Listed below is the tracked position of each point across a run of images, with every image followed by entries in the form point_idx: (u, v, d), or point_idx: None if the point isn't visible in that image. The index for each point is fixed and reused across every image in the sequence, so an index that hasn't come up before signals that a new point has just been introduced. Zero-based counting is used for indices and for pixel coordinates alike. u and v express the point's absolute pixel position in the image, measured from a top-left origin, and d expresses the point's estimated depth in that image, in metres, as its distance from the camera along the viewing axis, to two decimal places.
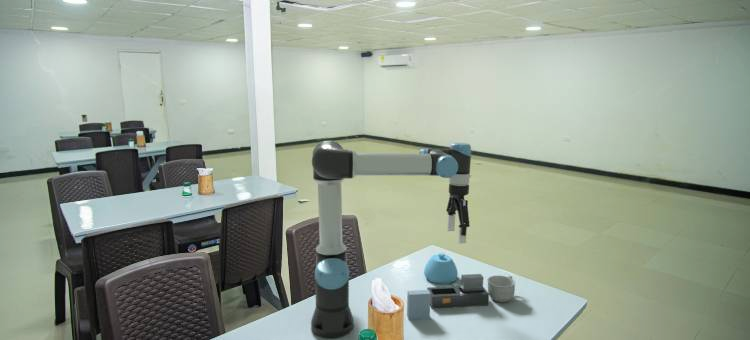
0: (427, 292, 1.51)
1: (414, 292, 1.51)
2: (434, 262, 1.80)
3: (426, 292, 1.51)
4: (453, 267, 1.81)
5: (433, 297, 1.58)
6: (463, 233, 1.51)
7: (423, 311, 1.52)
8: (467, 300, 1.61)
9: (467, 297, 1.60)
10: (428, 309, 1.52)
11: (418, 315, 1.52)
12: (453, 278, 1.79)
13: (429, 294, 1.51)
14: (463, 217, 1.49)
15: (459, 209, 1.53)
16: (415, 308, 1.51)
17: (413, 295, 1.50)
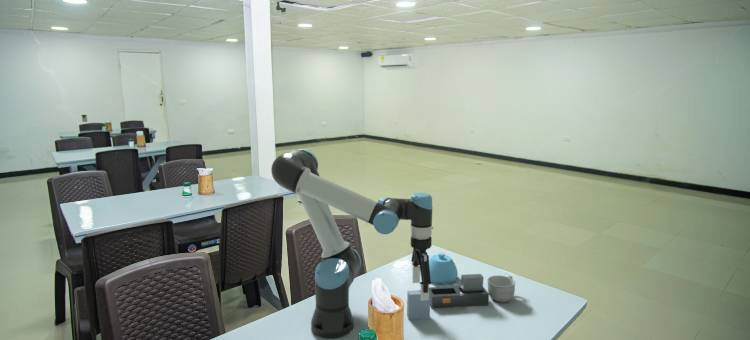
0: None
1: (414, 292, 1.51)
2: (434, 262, 1.80)
3: None
4: (453, 267, 1.81)
5: (433, 297, 1.58)
6: (425, 290, 1.42)
7: (423, 311, 1.52)
8: (467, 300, 1.61)
9: (467, 297, 1.60)
10: (428, 309, 1.52)
11: (418, 315, 1.52)
12: (453, 278, 1.79)
13: (429, 294, 1.51)
14: (424, 274, 1.41)
15: (421, 264, 1.45)
16: (415, 308, 1.51)
17: (413, 295, 1.50)
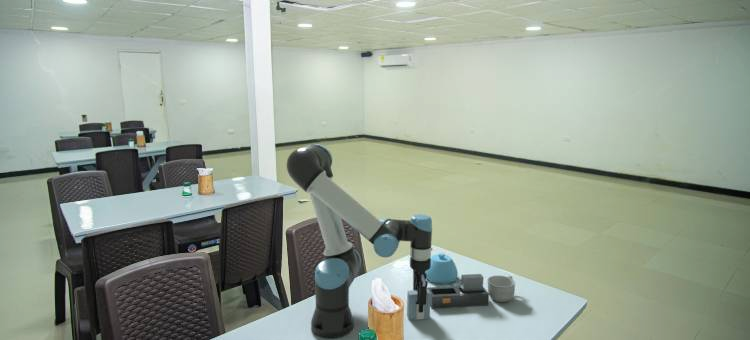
0: (427, 292, 1.51)
1: (414, 292, 1.51)
2: (434, 262, 1.80)
3: None
4: (453, 267, 1.81)
5: (433, 297, 1.58)
6: (420, 310, 1.49)
7: None
8: (467, 300, 1.61)
9: (467, 297, 1.60)
10: (428, 309, 1.52)
11: None
12: (453, 278, 1.79)
13: (429, 294, 1.51)
14: (421, 297, 1.46)
15: (419, 286, 1.48)
16: (415, 308, 1.51)
17: (413, 295, 1.50)
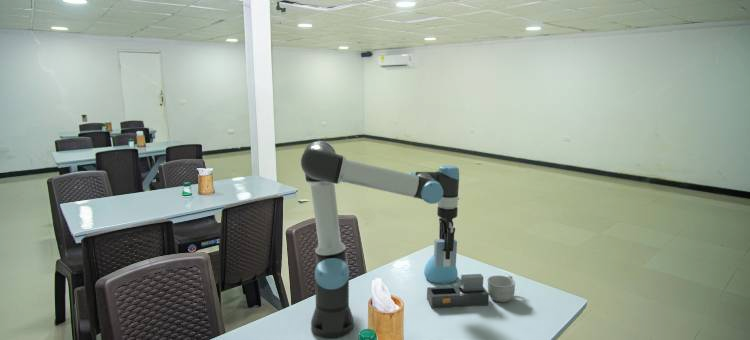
0: None
1: (441, 240, 1.58)
2: None
3: None
4: (453, 267, 1.81)
5: (433, 297, 1.58)
6: (447, 257, 1.56)
7: None
8: (467, 300, 1.61)
9: (467, 297, 1.60)
10: (454, 257, 1.59)
11: None
12: (453, 278, 1.79)
13: (456, 242, 1.57)
14: (448, 243, 1.53)
15: (446, 233, 1.55)
16: (442, 255, 1.58)
17: (440, 243, 1.57)
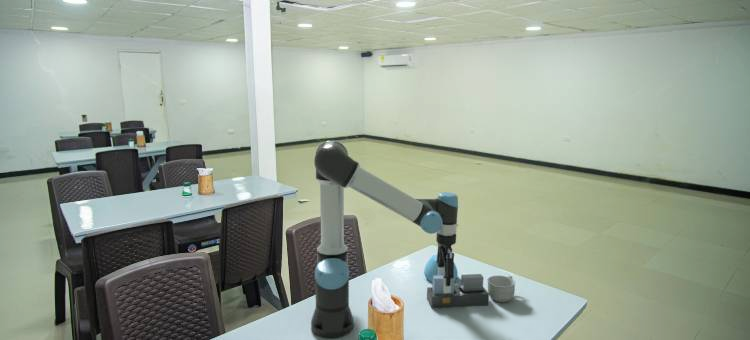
0: None
1: (439, 277, 1.61)
2: (434, 262, 1.80)
3: None
4: None
5: (433, 297, 1.58)
6: (448, 284, 1.56)
7: None
8: (467, 300, 1.61)
9: (467, 297, 1.60)
10: (452, 293, 1.62)
11: None
12: None
13: (453, 278, 1.61)
14: (448, 269, 1.53)
15: (445, 259, 1.57)
16: (440, 292, 1.61)
17: (438, 279, 1.60)
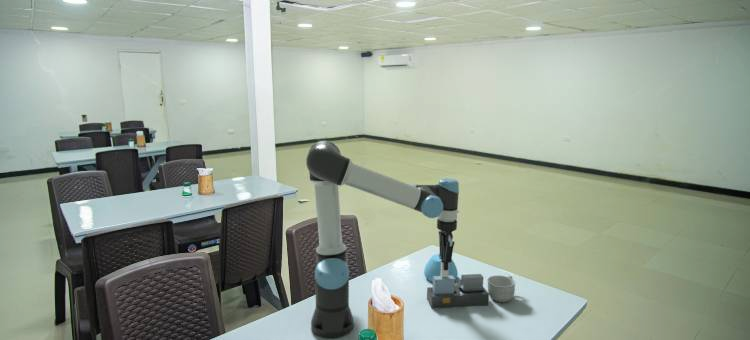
0: (451, 277, 1.61)
1: (439, 277, 1.61)
2: (434, 262, 1.80)
3: (450, 277, 1.61)
4: (453, 267, 1.81)
5: (433, 297, 1.58)
6: (445, 268, 1.59)
7: None
8: (467, 300, 1.61)
9: (467, 297, 1.60)
10: (452, 293, 1.61)
11: None
12: None
13: (453, 279, 1.60)
14: (447, 255, 1.55)
15: (445, 246, 1.57)
16: (440, 292, 1.61)
17: (438, 280, 1.60)
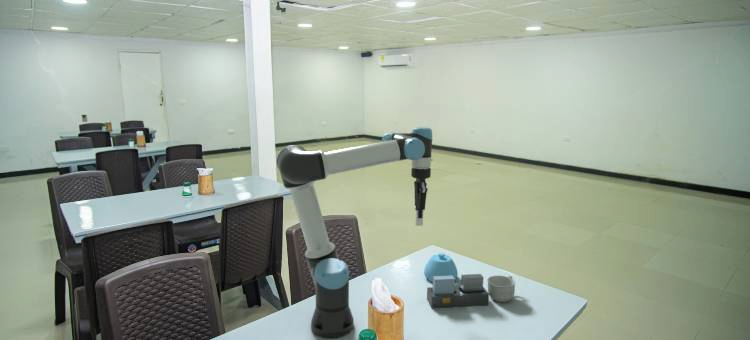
0: (451, 277, 1.61)
1: (439, 277, 1.61)
2: (434, 262, 1.80)
3: (450, 277, 1.61)
4: (453, 267, 1.81)
5: (433, 297, 1.58)
6: (419, 216, 1.62)
7: None
8: (467, 300, 1.61)
9: (467, 297, 1.60)
10: (452, 293, 1.61)
11: None
12: None
13: (453, 279, 1.60)
14: (420, 202, 1.58)
15: (419, 193, 1.60)
16: (440, 292, 1.61)
17: (438, 280, 1.60)
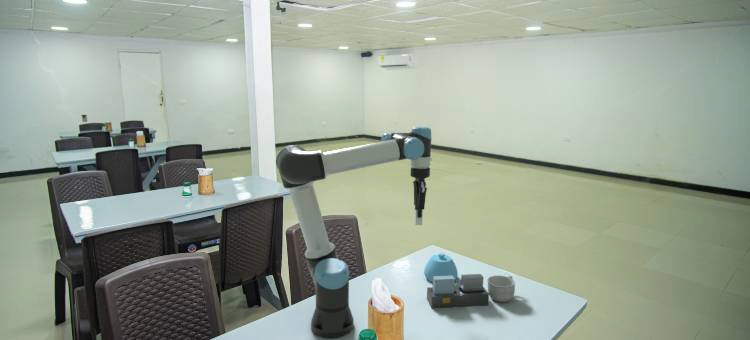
0: (451, 277, 1.61)
1: (439, 277, 1.61)
2: (434, 262, 1.80)
3: (450, 277, 1.61)
4: (453, 267, 1.81)
5: (433, 297, 1.58)
6: (419, 215, 1.62)
7: None
8: (467, 300, 1.61)
9: (467, 297, 1.60)
10: (452, 293, 1.61)
11: None
12: None
13: (453, 279, 1.60)
14: (419, 202, 1.58)
15: (418, 193, 1.60)
16: (440, 292, 1.61)
17: (438, 280, 1.60)
